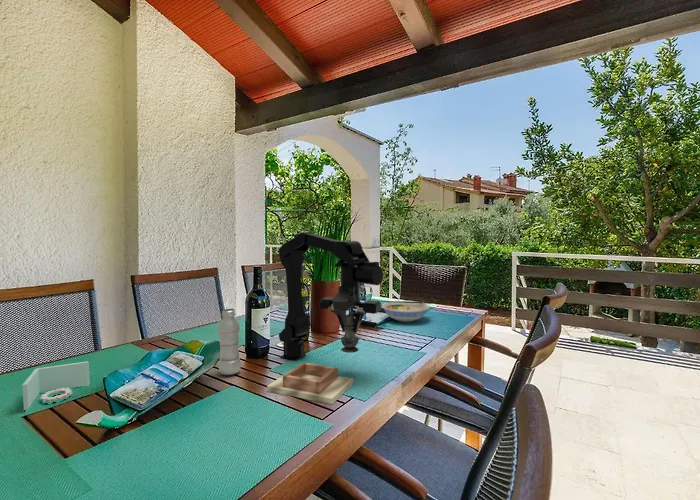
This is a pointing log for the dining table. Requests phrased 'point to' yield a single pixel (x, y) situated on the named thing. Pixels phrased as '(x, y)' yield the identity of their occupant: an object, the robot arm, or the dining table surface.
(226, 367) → the plastic bottle
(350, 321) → the salt shaker
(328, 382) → the shaker holder
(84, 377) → the right angle wall
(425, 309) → the ramen bowl
